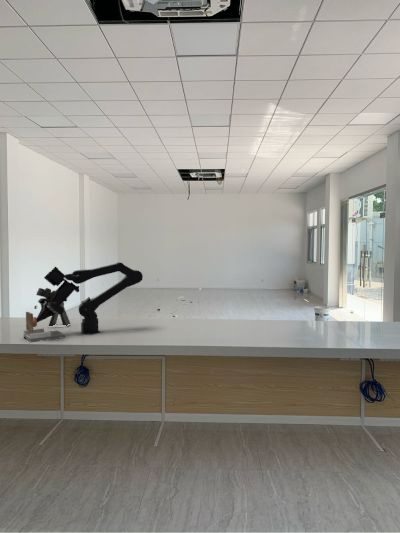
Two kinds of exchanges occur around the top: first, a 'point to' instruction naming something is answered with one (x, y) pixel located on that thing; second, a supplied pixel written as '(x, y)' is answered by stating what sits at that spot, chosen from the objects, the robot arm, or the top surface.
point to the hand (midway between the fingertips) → (36, 321)
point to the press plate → (30, 322)
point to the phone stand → (63, 317)
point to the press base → (42, 335)
